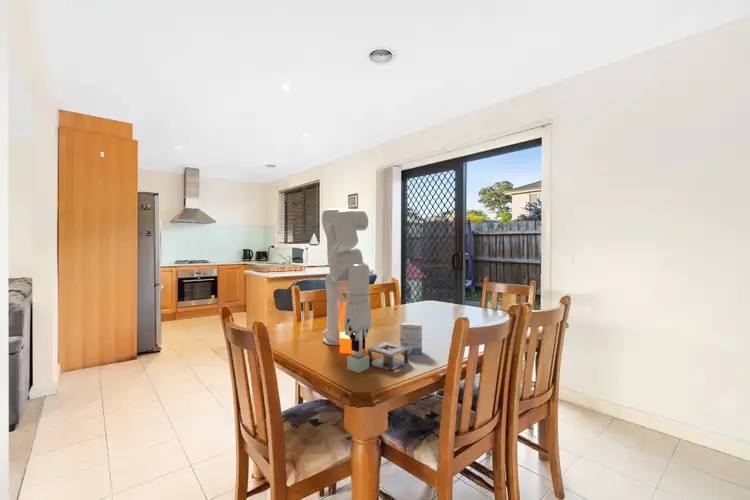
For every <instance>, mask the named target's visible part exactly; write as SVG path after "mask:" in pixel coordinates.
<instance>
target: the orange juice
mask: <svg viewBox="0 0 750 500" xmlns="http://www.w3.org/2000/svg"><path fill="white" fill-rule="evenodd" d="M345 308H346V302H343V305H342V310H341V315H340V345H339V353H340V354H341V353H342V354H352V355H353V354H355V351H353V350H351V339H350V337H349V336H347V335H345V331H346V330H344V315H345ZM354 335H355V333H354Z"/></svg>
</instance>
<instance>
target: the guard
mask: <svg viewBox="0 0 750 500" xmlns="http://www.w3.org/2000/svg"><path fill="white" fill-rule="evenodd" d="M366 351H367V352H366V353H367V354H366V355H368V356H369V366H371V367H375V368H379V369H381V370H385V371H389V372H392V371H395V370H397V369H399V368H401V367H403V366H406V365H408V364H409V361H410V359H409V356H410V354H409V347H406V346H401V345H400V344H396V343H392V342H388V341H384V342H382V343H377V344H375V345H372V346H370V347H367V348H366ZM401 352H404V353H403V360H401V359H398V358H394V356H396V355H398V354H402V353H401ZM373 353H376V354H380V355H387V356H388V364H385V363H383V356H382V357H379V358H377V359H375V360H373Z"/></svg>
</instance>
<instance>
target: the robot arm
mask: <svg viewBox="0 0 750 500" xmlns="http://www.w3.org/2000/svg"><path fill="white" fill-rule="evenodd" d="M321 223H322V228H323V230H324V234H325V237H326V248H327V251H326V252H327V265H328V268H329V273H327V274H326V276H325V278H324V285H325V290H326V291H325V293H326V328H325V329H324V331H322V335H325V337H324V338H323V343H324V344H326V345H330V346H340V315H341V310H342V305H343V302H346V308H345V315H344V330H346V331H345V335H347V336H349V337H350V339H351V350H353V351H356V352H358V351H359V340H358V331H362V330H363V351H364V350H365V349H366V339H367V335H368V333H369V331H371V329H372V325H371V324H372V311H371V310H372V309H371V304H370V267H369V265H368V264H366V263H365V262H364V258H363V254H362V250H360V249H359V248H355V247H356V246H357V245H358V243H359V238H358V237H359V236H358V232H357V231H366V230H367V229H368V227H369V217H368V214H367V213H366V212H365V211H364V210H361V209H356V208H336V207H335V208H327V209H325V210H324V211H322V216H321ZM346 293H347V298H346V297H345V295H343V294H346ZM354 333H355V335H354Z"/></svg>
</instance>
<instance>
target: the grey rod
mask: <svg viewBox="0 0 750 500" xmlns="http://www.w3.org/2000/svg"><path fill="white" fill-rule="evenodd" d="M358 340H359V351H358V352H356V351H355V358H356V359H361V358H362V356H363V354H364V353H363V351H364V350H363V330H362V331H358Z"/></svg>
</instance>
